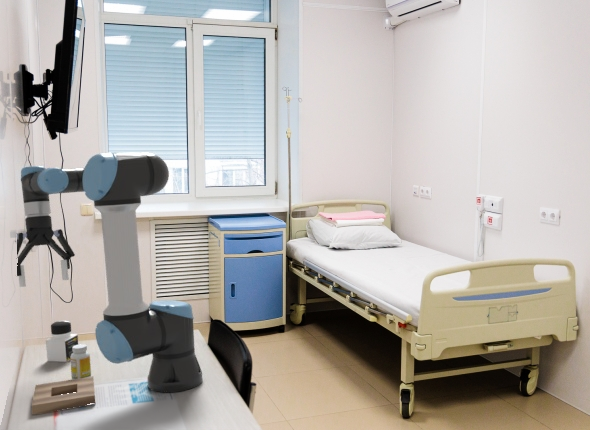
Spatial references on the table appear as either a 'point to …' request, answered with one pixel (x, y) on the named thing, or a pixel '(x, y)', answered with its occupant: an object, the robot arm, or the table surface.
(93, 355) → the table surface
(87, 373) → the supplement bottle
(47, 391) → the socket block
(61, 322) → the medicine bottle
